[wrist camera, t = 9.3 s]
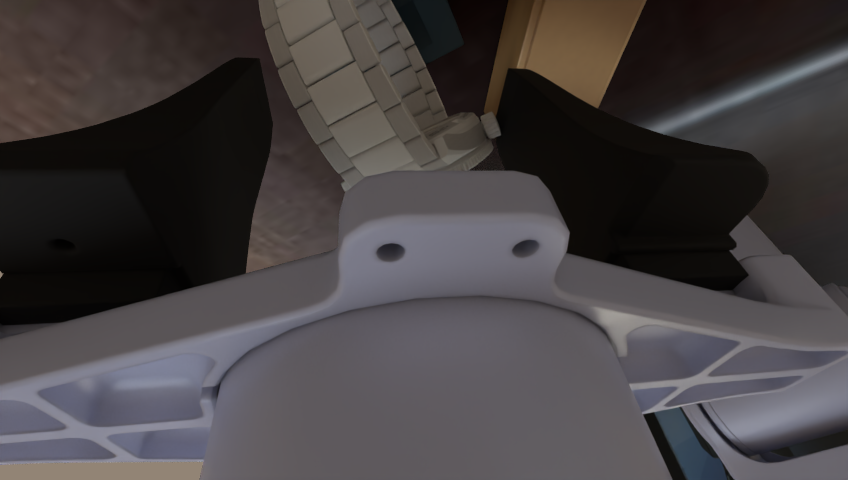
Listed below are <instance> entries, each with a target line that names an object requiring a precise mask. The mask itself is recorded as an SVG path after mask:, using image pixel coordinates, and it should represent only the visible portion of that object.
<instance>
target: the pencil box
mask: <svg viewBox="0 0 848 480" xmlns="http://www.w3.org/2000/svg"><path fill="white" fill-rule="evenodd" d="M645 2H646V0H508V4H507V9H506V13H505V18H504V22H503V27H502V31H501V36H500V40H499V45H498V49H497V54H496V58H495V63H494V67H493V72H492V76H491V81H490V85H489V90H488V94H487V99H486V103H485V108H484V113H485V114H487V113H489V112H491V111H492V112H493V114H494V115H495V117H496V114H497V110H498V106H499V102H500V98H501V94H502V90H503V86H504V82H505V78H506V74H507V70H508V68H518V69H529V70H532V71H534V72H536V73H538V74H540V75H541V76H543V77H545V78H547V79H548V80H550V81H552V82H553V83H555V84H556V85H558V86H560V87H561V88H563V89H564V90H566V91H568V92H569V93H571V94H573V95H574V96H576V97H578V98H579V99H581V100H583V101H585V102H587V103H588V104H590V105H592V106H594V107H596V108H598V107H599V105H600V102H601V100H602V98H603V96H604V93H605V91H606V89H607V87H608V85H609V82H610V80H611V78H612V76H613V73H614V71H615V69H616V67H617V65H618V62H619V60H620V58H621V56H622V53H623V51H624V49H625V47H626V45H627V42H628V40H629V38H630V36H631V33H632V31H633V29H634V27H635V25H636V22H637V20H638V18H639V16H640V13H641V11H642V9H643V7H644V5H645ZM495 140H496V139H495Z"/></svg>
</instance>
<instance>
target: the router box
mask: <svg viewBox="0 0 848 480" xmlns="http://www.w3.org/2000/svg"><path fill="white" fill-rule="evenodd" d="M643 416H644V418H645V420H646V422H647V425H648V427H649V429H650V431H651V433H652V436H653V438H654V440H655V442H656V444H657V447H658V449H659V451H660V453H661V455H662V458H663V460H664V462H665V464H666V466H667V469H668V471H669V473H670V475H671V477H672V480H734V479H733V478H732V476H731V475H730V473H729V472H728V470H727V469H726V467H725V465H724V464H723V462H722V461H721V459H720V458H719V456H718V455H717V453H716V452H715V451H714V449H713V448H712V446H711V445H710V444H709V443H708V442H707V441H706V440H705V439H704V438H703V437H702V435H701V434H700V433H699V432H698V431H697V429H696V428H695V427H694V425H693V424H692V423H691V421H690V420H689V418H688V417H687V415H686V414H685V412H684V410H683V409H682V407H677V408H672V409H667V410H662V411H657V412H652V413H647V414H643ZM846 444H848V430H845V431H842V432H838V433H834V434H831V435H827V436H824V437H820V438H816V439H813V440H809V441H806V442H802V443H798V444H795V445H791V446H788V447H784V448H780V449H777V450H773V451H770V452H772V453H775V454H778V455H780V456H785V457H796V456H804V455H808V454H812V453H815V452H819V451H823V450H827V449H831V448H835V447H838V446H842V445H846Z"/></svg>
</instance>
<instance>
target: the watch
mask: <svg viewBox="0 0 848 480" xmlns="http://www.w3.org/2000/svg"><path fill="white" fill-rule="evenodd" d="M259 9H260V14H261V19H262V24H263V27H264V28H265V30H266V31H265V35H266V38H267V41H268V45H269V48H270V51H271V53H272V56H273V59H274V62H275V64H276V66H277V67H278V68H280V69H279V70H278V73H279V75H280V78H281V80H282V83H283V85H284V87H285V89H286V92H287V94H288V96H289V98H290V100H291V102H292V104H293V106H294V107H295V108H299V107H300V106H302V105H304V104H306V103H308V102H310V101H311V100H312V102H310V103H308V104H307V105H305V106H303V107H301V108H299V109H298V114H299V116H300V118H301V119H302V121H303V123H304V125H305V127H306V128H307V130H308V132H309V134H310V135H311V137H312V138H313V140H314V142H315V143H316V144H320V145H319V148H320V150H321V151H322V153H323V154H324V155H325V157H326V158H327V160H328V161H329V162H330V164H331V165H332V166H333V168H334V169H335V170H336V172H337V173H340V174H341V177H342V178H343V179H344V180H345V181H344V182H342V183H341V186H342V188H343V189H344V191H345V192H347V191H348V190H349V189H350V188H352V187H353V186H354V185H355V184H357V183H358V182H359V181H361V180H362V179H363V178H364V177H366V176H371V175H376V174H381V173H385V172H390V171H469V170H470V169H472V168H473V167H475V166H476V165H477V164H479V163H480V162H481V161H483V160H484V159H485V158H486V157H487V156H488V155H489V154H490V153H491V152H492V150H493V145H492V142H491V139H493V138H495V137H497V136H500V135H501V131H500V127H499V124H498V122H497V119H496V117H495V115H494V114H493V112H492V111H491V112H489V113H487V114H485V115H483V116H481V122H480V120H479V118H478V117H476V115H475V114H474V113H458V114H455V115H452V116H450V117H447V115H446V112H445V109H444V106H443V104H442V102H441V99H440V97H439V95H438V93H437V91H436V87H435V85H434V83H433V81H432V78H431V76H430V74H429V72H428V70H427V68H425V67H426V64H428V63H430V62H432V61H433V60H435V59H437V58H439V57H441V56H443V55H445V54H447V53H449V52H450V51H452V50H454V49H456V48H458V47H460V46H462V45H464V41H463V39H462V36H461V34H460V31H459V28H458V26H457V23H456V20H455V18H454V15H453V13H452V10H451V8H450V5H449V3H448V0H259ZM424 68H425V69H424ZM422 69H423V70H422ZM420 70H421V71H420ZM418 71H419V72H418ZM416 72H418V73H416ZM323 78H325V79H323ZM321 79H323V80H321ZM319 80H321V81H319ZM317 81H319V82H317ZM316 82H317V83H316ZM314 83H316V84H314ZM312 84H314V85H312ZM310 85H312V86H310ZM420 88H421V89H420ZM418 89H419V90H418ZM416 90H417V91H416ZM414 91H415V92H414ZM412 92H413V93H412ZM410 93H411V94H410ZM408 94H410V95H408ZM406 95H408V96H406ZM404 96H406V97H404ZM403 97H404V98H403ZM376 100H377V101H376ZM374 101H376V102H374ZM372 102H374V103H372ZM370 103H372V104H370ZM368 104H370V105H368ZM366 105H368V106H366ZM364 106H366V107H364ZM362 107H364V108H362ZM360 108H362V109H360ZM359 109H360V110H359ZM357 110H358V111H357ZM355 111H356V112H355ZM353 112H355V113H353ZM351 113H353V114H351ZM349 114H351V115H349ZM347 115H349V116H347ZM345 116H347V117H345ZM343 117H345V118H343ZM341 118H343V119H341ZM339 119H341V120H339ZM337 120H339V121H337ZM336 121H337V122H336ZM334 122H335V123H334ZM332 123H333V124H332ZM331 124H332V125H331ZM486 136H488V138H489V139H490V140H489V139H486Z"/></svg>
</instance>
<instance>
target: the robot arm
mask: <svg viewBox="0 0 848 480" xmlns="http://www.w3.org/2000/svg"><path fill="white" fill-rule="evenodd" d="M496 119H497V122H498V124H499V127H500V131H501V135H500V136H497V137H495V139H496V143H497V148H498V152H499V155H500V157H501V160H502V163H503V165H504V168H505V170H506V171H390V172H385V173H381V174H376V175H371V176H366V177H364V178H363V179H362V180H361V181H359V182H358V183H357V184H355V185H354V186H353V187H352V188H350V189H349V190H348V191H347V192H345V195H344V198H343V202H342V205H341V209H340V212H339V238H338V247H337V248H336V249H334V250H332V251H328V252H324V253H321V254H317V255H313V256H309V257H306V258H302V259H298V260H294V261H291V262H287V263H283V264H279V265H276V266H272V267H268V268H264V269H261V270H257V271H253V272H249V273H246V265H247V256H248V247H249V239H250V232H251V224H252V217H253V213H254V208H255V204H256V200H257V197H258V193H259V190H260V186H261V182H262V179H263V175H264V172H265V168H266V164H267V161H268V157H269V153H270V147H271V138H272V127H273V122H272V117H271V112H270V108H269V103H268V98H267V93H266V88H265V84H264V79H263V74H262V69H261V64H260V59H259V58H234V59H232V60H230V61H228V62H226V63H225V64H223V65H221V66H220V67H218V68H217V69H215V70H214V71H212V72H210V73H209V74H207V75H206V76H204V77H203V78H201V79H200V80H198V81H196V82H195V83H193V84H191V85H190V86H188V87H186V88H184V89H183V90H181V91H179V92H177V93H175V94H174V95H172V96H170V97H168V98H166V99H164V100H162V101H160V102H158V103H156V104H154V105H151V106H149V107H146V108H144V109H142V110H139V111H137V112H134V113H131V114H128V115H125V116H122V117H119V118H116V119H113V120H110V121H107V122H104V123H100V124H97V125H93V126H90V127H86V128H82V129H78V130H73V131H69V132H64V133H59V134H55V135H50V136H44V137H39V138H32V139H26V140H19V141H12V142H6V143H0V271H1V272H2V273H4V274H3V275H2V277H1V278H0V465H3V464H27V463H69V462H203V466H202V471H201V475H200V480H672V477H671V475H670V473H669V471H668V469H667V466H666V464H665V462H664V460H663V458H662V455H661V453H660V451H659V449H658V447H657V444H656V442H655V440H654V438H653V436H652V433H651V431H650V429H649V427H648V425H647V422H646V420H645V418H644V416H643V414H647V413H652V412H657V411H662V410H667V409H672V408H677V407H682V409H683V410H684V412H685V414H686V415H687V417H688V418H689V420H690V421H691V423H692V424H693V425H694V427H695V428H696V429H697V431H698V432H699V433H700V434H701V435H702V437H703V438H704V439H705V440H706V441H707V442H708V443H709V444H710V445H711V446H712V448H713V449H714V451H715V452H716V453H717V455H718V456H719V458H720V459H721V461H722V462H723V464H724V465H725V467H726V469H727V470H728V472H729V473H730V475H731V476H732V478H733V479H734V480H848V444H846V445H842V446H838V447H835V448H831V449H827V450H823V451H819V452H815V453H812V454H808V455H804V456H796V457H785V456H780V455H778V454H775V453H772V452H770V451H773V450H777V449H780V448H784V447H788V446H791V445H795V444H798V443H802V442H806V441H809V440H813V439H816V438H820V437H824V436H827V435H831V434H834V433H838V432H842V431H845V430H848V287H845V286H837V285H835V284H833V283H830V284H827V285H825V286H822V287H820V286H819V285H818V284H817V283H816V282H815V280H814V279H813V278H812V277H811V276H810V275H809V274H808V273H807V272H806V271H805V270H804V269H803V267H802V266H801V265H800V264H799V263H798V262H797V261H796V260H795V259H794V258H793V257H792V256H791V255H783V254H782V253H781V252H780V251H779V249H778V248H777V247H776V246H775V245H774V244H773V243H772V242H771V241H770V240H769V238H768V237H767V236H766V235H765V234H764V233H763V232H762V231H761V230H760V229H759V227H758V226H757V225H756V224H755V223H754V222H753V221H752V220H751V219H750V218H749V216H748V213H749V212H750V211H751V210H752V209H753V208H754V207H755V206H756V205H757V203H758V202H759V201H760V200H761V198H762V197H763V195H764V193H765V191H766V188H767V186H768V182H769V174H768V172H767V170H766V168H765V166H764V165H762V164H761V163H760V162H759V161H758V160H757V159H756V158H755V157H754V156H753V155H752V154H750V153H748V152H744V151H739V150H733V149H727V148H721V147H715V146H709V145H704V144H699V143H695V142H691V141H686V140H682V139H678V138H674V137H671V136H667V135H663V134H660V133H657V132H654V131H651V130H648V129H645V128H642V127H639V126H636V125H634V124H631V123H628V122H626V121H624V120H621V119H619V118H617V117H614V116H612V115H610V114H608V113H606V112H604V111H602V110H600V109H598V108H596V107H594V106H592V105H590V104H588V103H587V102H585V101H583V100H581V99H579V98H578V97H576V96H574V95H573V94H571V93H569V92H568V91H566V90H564V89H563V88H561V87H560V86H558V85H556V84H555V83H553V82H552V81H550V80H548V79H547V78H545V77H543V76H541V75H540V74H538V73H536V72H534V71H532V70H529V69H518V68H508V70H507V74H506V78H505V82H504V86H503V90H502V94H501V98H500V102H499V106H498V110H497V114H496Z"/></svg>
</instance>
